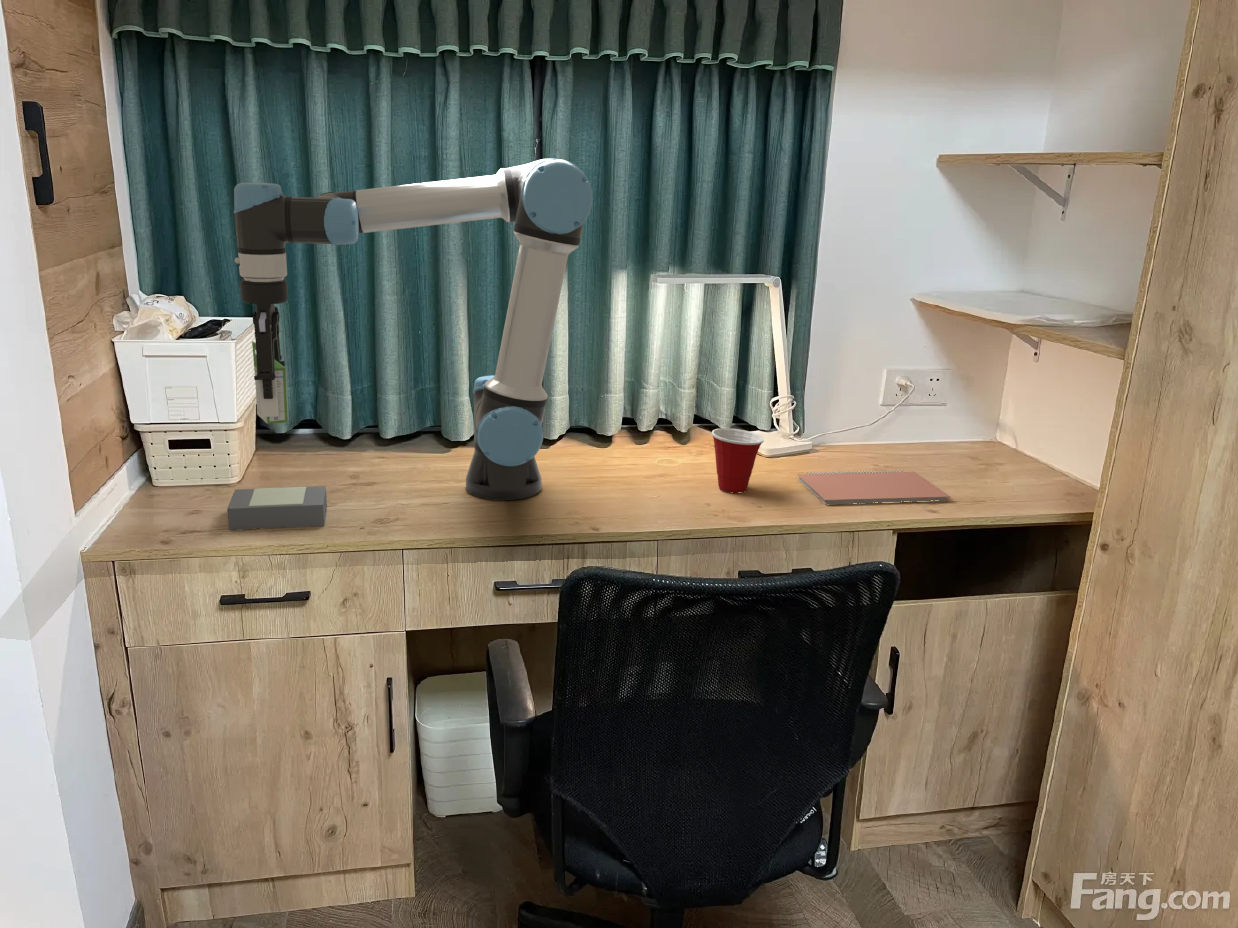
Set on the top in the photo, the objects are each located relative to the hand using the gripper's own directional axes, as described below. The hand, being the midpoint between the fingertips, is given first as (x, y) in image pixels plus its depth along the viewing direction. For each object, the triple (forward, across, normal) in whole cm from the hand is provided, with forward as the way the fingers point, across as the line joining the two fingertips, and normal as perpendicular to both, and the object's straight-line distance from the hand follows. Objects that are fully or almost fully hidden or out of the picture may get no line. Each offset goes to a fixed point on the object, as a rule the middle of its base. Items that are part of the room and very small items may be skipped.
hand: (272, 409), depth 170 cm
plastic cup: (+20, -5, +89) cm, 91 cm away
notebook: (+21, -1, +118) cm, 120 cm away
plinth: (+20, 0, 0) cm, 20 cm away
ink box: (+2, 0, 0) cm, 2 cm away
